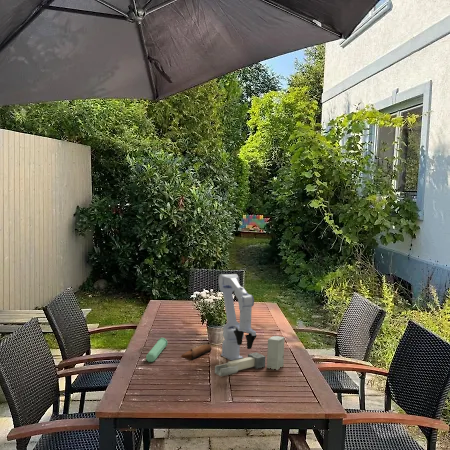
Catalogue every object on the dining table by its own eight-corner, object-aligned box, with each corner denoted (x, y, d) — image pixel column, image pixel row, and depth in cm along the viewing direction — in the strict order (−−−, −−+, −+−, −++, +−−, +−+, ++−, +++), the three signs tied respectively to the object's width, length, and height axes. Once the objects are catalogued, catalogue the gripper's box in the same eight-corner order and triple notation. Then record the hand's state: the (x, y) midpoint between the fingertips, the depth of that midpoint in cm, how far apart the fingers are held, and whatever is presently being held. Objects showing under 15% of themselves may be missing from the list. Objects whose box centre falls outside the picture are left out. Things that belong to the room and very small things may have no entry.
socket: (247, 364, 243) (248, 354, 243) (255, 362, 246) (256, 352, 246) (256, 368, 237) (257, 358, 237) (264, 366, 241) (265, 356, 240)
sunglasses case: (198, 347, 266) (203, 338, 264) (207, 356, 263) (213, 347, 261) (179, 356, 250) (185, 347, 248) (188, 366, 248) (194, 356, 246)
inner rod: (227, 370, 233) (227, 361, 232) (252, 364, 242) (253, 356, 242) (231, 372, 230) (231, 363, 230) (256, 365, 240) (256, 358, 240)
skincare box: (277, 370, 236) (278, 340, 235) (266, 368, 239) (267, 338, 238) (283, 365, 243) (285, 336, 242) (272, 363, 246) (274, 334, 245)
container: (153, 351, 239) (165, 336, 264) (142, 354, 240) (155, 339, 265) (157, 362, 240) (169, 346, 264) (146, 365, 241) (159, 349, 265)
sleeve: (214, 373, 230) (215, 366, 229) (231, 369, 236) (231, 362, 235) (220, 376, 226) (221, 369, 225) (237, 372, 232) (238, 365, 231)
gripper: (230, 317, 241) (229, 344, 242) (248, 323, 229) (247, 351, 230) (241, 315, 245) (240, 342, 246) (259, 321, 234) (258, 349, 234)
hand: (244, 346), depth 238 cm, fingers open, 7 cm apart
